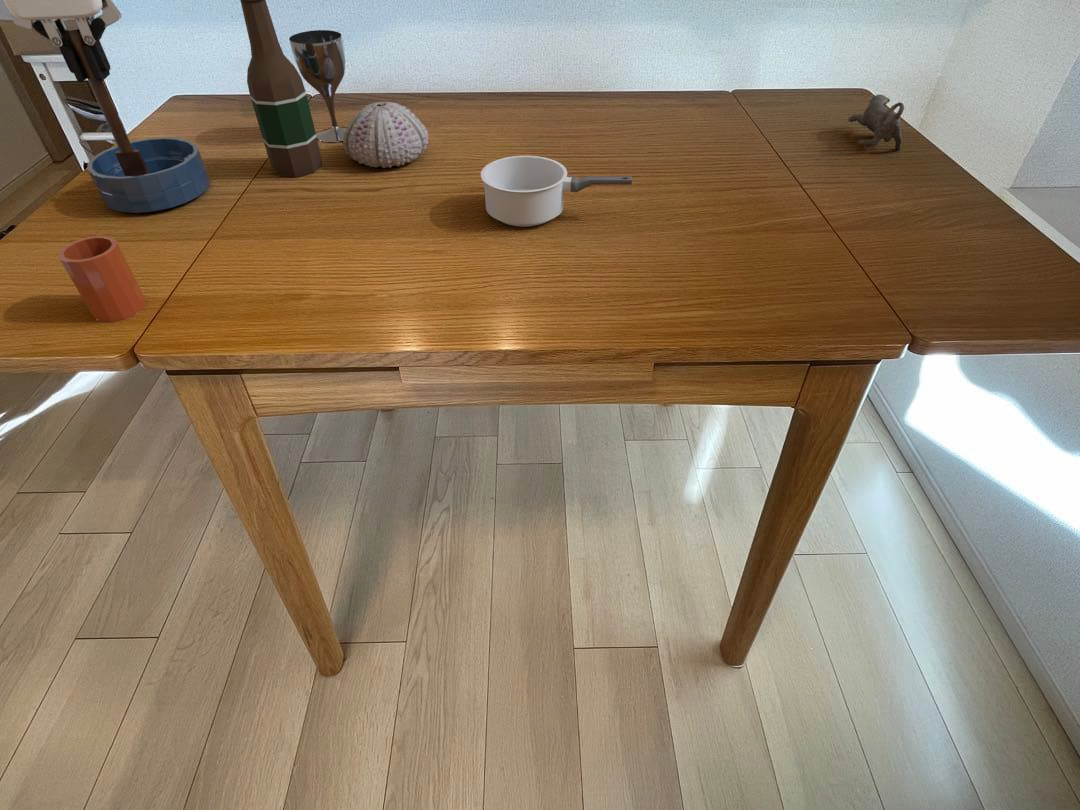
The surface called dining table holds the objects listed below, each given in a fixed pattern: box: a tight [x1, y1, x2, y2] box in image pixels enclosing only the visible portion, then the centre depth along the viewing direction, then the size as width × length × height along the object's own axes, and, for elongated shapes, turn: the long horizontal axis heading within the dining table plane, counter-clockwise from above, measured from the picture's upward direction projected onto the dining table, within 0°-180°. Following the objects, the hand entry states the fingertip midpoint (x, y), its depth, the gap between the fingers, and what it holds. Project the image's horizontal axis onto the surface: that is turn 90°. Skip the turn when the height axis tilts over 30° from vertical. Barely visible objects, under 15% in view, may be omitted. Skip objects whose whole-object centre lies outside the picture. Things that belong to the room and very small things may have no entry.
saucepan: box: [480, 155, 633, 228], centre depth 88 cm, size 12×20×6 cm, turn 82°
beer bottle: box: [239, 0, 323, 178], centre depth 93 cm, size 8×8×24 cm
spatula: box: [66, 26, 149, 177], centre depth 86 cm, size 3×2×20 cm, turn 99°
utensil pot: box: [58, 235, 147, 323], centre depth 71 cm, size 5×6×8 cm
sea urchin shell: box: [341, 101, 430, 169], centre depth 102 cm, size 13×14×8 cm
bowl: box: [87, 137, 211, 214], centre depth 93 cm, size 14×14×6 cm
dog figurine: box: [847, 94, 905, 151], centre depth 105 cm, size 12×6×7 cm, turn 179°
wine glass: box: [288, 29, 347, 143], centre depth 106 cm, size 8×8×15 cm
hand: (94, 77), depth 83 cm, fingers closed on spatula, 1 cm apart
